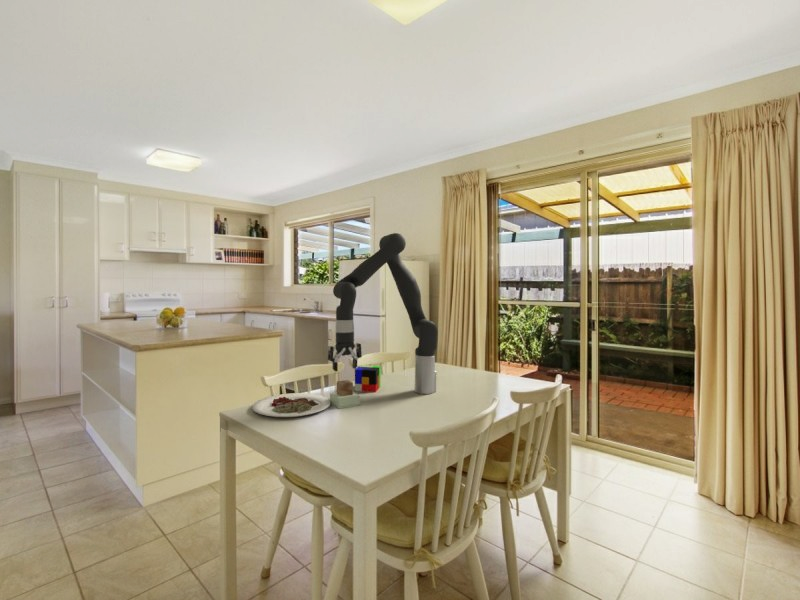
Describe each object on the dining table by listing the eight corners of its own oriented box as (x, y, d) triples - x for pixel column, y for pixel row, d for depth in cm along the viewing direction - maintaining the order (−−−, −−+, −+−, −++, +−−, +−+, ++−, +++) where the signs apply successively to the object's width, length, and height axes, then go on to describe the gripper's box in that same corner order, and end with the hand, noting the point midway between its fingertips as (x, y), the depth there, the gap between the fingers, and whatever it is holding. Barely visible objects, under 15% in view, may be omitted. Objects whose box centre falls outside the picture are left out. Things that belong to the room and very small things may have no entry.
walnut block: (347, 391, 173) (347, 380, 172) (352, 394, 168) (352, 382, 168) (336, 393, 170) (336, 381, 170) (341, 396, 166) (341, 384, 165)
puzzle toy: (354, 390, 189) (354, 369, 189) (360, 385, 199) (360, 365, 199) (375, 392, 188) (376, 370, 187) (380, 386, 198) (380, 366, 197)
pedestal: (349, 398, 176) (349, 389, 176) (360, 404, 168) (360, 395, 168) (328, 402, 171) (328, 392, 170) (338, 408, 162) (338, 398, 162)
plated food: (312, 424, 145) (312, 414, 145) (236, 417, 151) (236, 408, 151) (340, 400, 175) (340, 392, 175) (276, 395, 181) (276, 387, 181)
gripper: (356, 328, 175) (356, 366, 175) (324, 330, 167) (325, 370, 168) (364, 330, 168) (364, 369, 169) (332, 332, 160) (333, 373, 161)
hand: (345, 369), depth 168 cm, fingers open, 8 cm apart
